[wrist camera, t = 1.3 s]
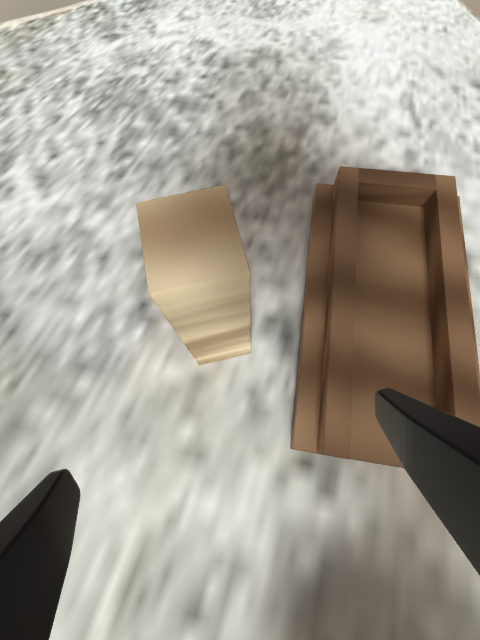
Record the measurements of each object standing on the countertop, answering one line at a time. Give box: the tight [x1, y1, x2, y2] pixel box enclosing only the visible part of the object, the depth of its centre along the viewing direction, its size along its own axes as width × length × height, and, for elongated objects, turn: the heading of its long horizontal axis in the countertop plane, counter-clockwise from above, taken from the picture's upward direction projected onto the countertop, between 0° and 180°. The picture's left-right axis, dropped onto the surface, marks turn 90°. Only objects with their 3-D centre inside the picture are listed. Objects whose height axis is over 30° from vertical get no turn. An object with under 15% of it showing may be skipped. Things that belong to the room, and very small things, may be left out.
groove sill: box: [291, 167, 480, 468], centre depth 23 cm, size 22×12×4 cm, turn 171°
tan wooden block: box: [136, 185, 251, 365], centre depth 19 cm, size 4×4×12 cm
